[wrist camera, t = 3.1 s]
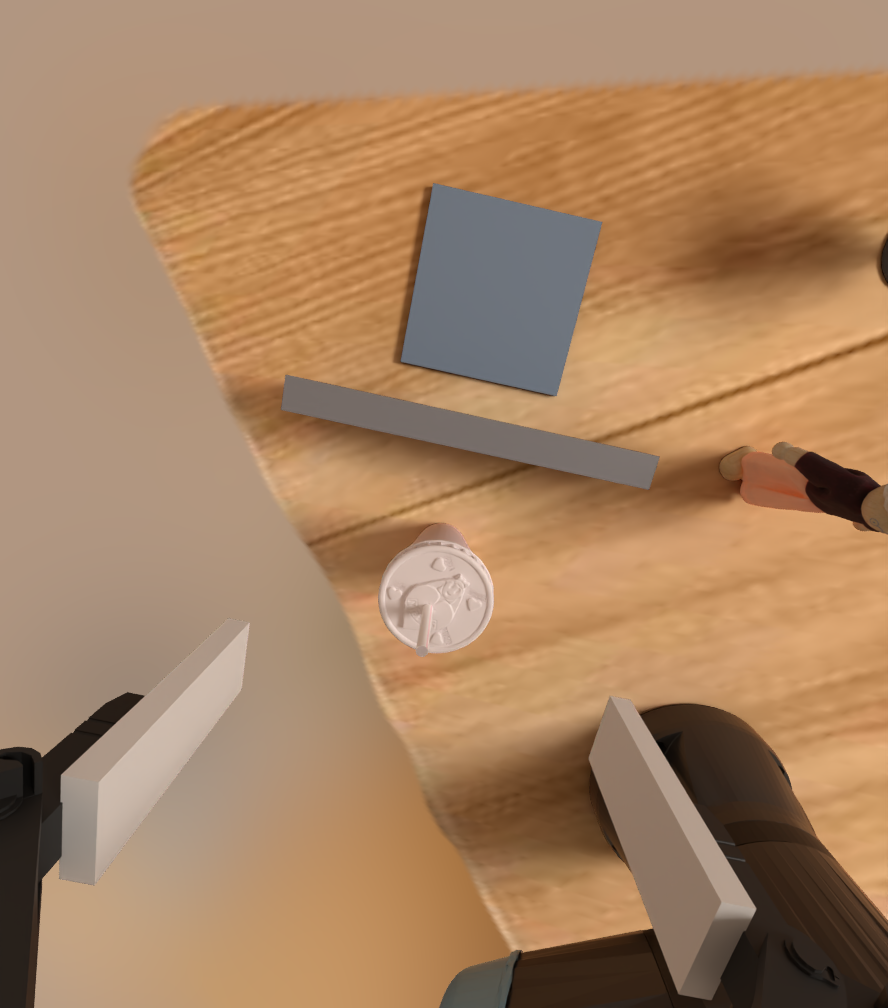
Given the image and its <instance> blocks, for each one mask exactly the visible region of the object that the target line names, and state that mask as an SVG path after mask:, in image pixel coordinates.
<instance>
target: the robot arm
mask: <svg viewBox="0 0 888 1008" xmlns="http://www.w3.org/2000/svg"><path fill="white" fill-rule="evenodd" d="M249 625H250V623H249V622H245V621H241V620H236V619H231V618H228V619H227V620H226V621H225V622H224V623H223V624H221V625H220V626H219V627H218V628H217V629H216V630H215V631H214V632H213V633H212V634H211V635H210V636H209V637H208V638H206V639H205V640H204V641H203V642H202V643H201V644H200V645H199V646H198V647H197V648H196V649H195V650H194V651H193V652H192V653H191V654H189V655H188V656H187V657H186V658H185V659H184V660H183V661H182V662H181V663H180V664H179V665H178V666H177V667H176V668H174V669H173V670H172V671H171V672H170V673H169V674H168V675H167V676H166V677H165V678H164V679H163V680H162V681H161V682H160V683H158V684H157V685H156V686H155V687H154V688H153V689H152V690H151V691H150V692H149V693H148V694H147V695H146V696H143V695H138V694H133V693H128V692H127V693H125V694H123V695H121V696H119V697H117V698H115V699H113V700H111V701H109V702H107V703H106V704H105V705H103V706H102V707H101V708H100V709H99V710H97V711H96V712H95V713H94V714H93V715H92V716H90V717H89V719H88V720H87V721H84V722H83V723H82V724H81V725H80V726H79V727H77V728H76V729H75V731H74V732H73V733H70V734H69V735H68V736H67V737H66V738H64V739H63V740H62V741H61V742H60V743H59V744H57V746H55V747H54V748H53V749H52V750H50V752H48V753H47V754H46V755H45V756H44V757H41V754H40V753H39V752H37V751H36V750H34V749H32V748H26V747H13V748H7V749H1V750H0V1008H34V999H35V984H36V969H37V953H38V938H39V923H40V909H41V894H42V878H43V877H44V876H45V875H46V873H48V871H49V870H50V869H51V868H52V867H53V866H54V864H55V863H56V862H57V861H58V860H59V859H60V863H59V865H60V866H59V879H62V880H68V881H73V882H79V883H84V884H90V885H95V884H96V883H97V881H98V880H99V879H100V878H101V876H102V875H103V874H104V872H105V871H106V869H107V868H108V867H109V865H110V864H111V863H112V862H113V860H114V859H115V858H116V856H117V855H118V854H119V852H120V851H121V849H122V848H123V847H124V846H125V844H126V843H127V841H128V840H129V839H130V838H131V836H132V835H133V834H134V832H135V831H136V830H137V828H138V827H139V826H140V824H141V823H142V822H143V820H144V819H145V817H146V816H147V815H148V814H149V812H150V811H151V810H152V808H153V807H154V806H155V804H156V803H157V802H158V800H159V799H160V798H161V796H162V795H163V794H164V792H165V791H166V789H167V788H168V787H169V786H170V784H171V783H172V781H173V780H174V779H175V777H176V776H177V775H178V774H179V772H180V771H181V769H182V768H183V767H184V766H185V764H186V763H187V762H188V760H189V759H190V758H191V756H192V755H193V753H194V752H195V751H196V750H197V748H198V747H199V746H200V744H201V743H202V742H203V740H204V739H205V738H206V736H207V735H208V734H209V732H210V731H211V730H212V728H213V727H214V726H215V724H216V722H217V721H218V720H219V719H220V717H221V716H222V715H223V713H224V712H225V711H226V709H227V708H228V707H229V706H230V704H231V703H232V702H233V700H234V699H235V698H236V696H237V695H238V693H239V692H240V691H241V690H242V682H243V673H244V665H245V657H246V648H247V641H248V633H249ZM588 759H589V762H590V764H591V767H592V770H591V775H590V784H589V789H590V798H591V802H592V806H593V808H594V811H595V814H596V817H597V820H598V823H599V825H600V828H601V831H602V833H603V835H604V837H605V839H606V840H607V842H608V844H609V845H610V847H611V848H612V849H613V850H614V852H615V853H616V854H617V856H618V857H619V858H620V859H621V860H622V861H623V862H624V863H625V864H626V865H627V867H628V868H629V870H630V871H631V873H632V874H633V877H634V879H635V882H636V885H637V887H638V890H639V892H640V895H641V898H642V900H643V903H644V905H645V908H646V911H647V913H648V916H649V918H650V921H651V924H652V926H653V929H648V930H640V931H634V932H629V933H624V934H619V935H613V936H608V937H603V938H598V939H592V940H587V941H582V942H577V943H571V944H566V945H561V946H556V947H550V948H545V949H540V950H534V951H529V952H524V953H523V951H522V950H515V951H514V952H511V954H510V956H508V957H505V958H501V959H497V960H493V961H489V962H485V963H482V964H478V965H474V966H470V967H468V968H466V969H464V970H462V971H461V972H460V973H458V974H457V975H456V977H455V978H454V979H453V980H452V981H451V983H450V984H449V986H448V988H447V990H446V992H445V994H444V996H443V999H442V1002H441V1004H440V1007H439V1008H888V920H887V919H886V918H885V916H884V915H883V914H882V913H881V912H880V911H879V909H878V908H877V907H876V906H875V905H874V904H873V902H872V901H871V900H870V899H869V898H868V897H867V895H866V894H865V893H864V892H863V891H862V890H861V889H860V887H859V886H858V885H857V884H856V883H855V882H854V880H853V879H852V878H851V877H850V876H849V875H848V873H847V872H846V871H845V870H844V869H843V868H842V866H841V865H840V864H839V863H838V862H837V861H836V859H835V858H834V857H833V856H832V855H831V853H830V852H829V851H828V850H827V849H826V848H825V846H824V845H823V844H822V843H821V842H820V840H819V839H818V838H817V836H816V834H815V832H814V830H813V828H812V825H811V823H810V821H809V819H808V818H807V816H806V814H805V812H804V810H803V808H802V806H801V805H800V803H799V801H798V800H797V798H796V797H795V795H794V793H793V791H792V787H791V783H790V780H789V777H788V774H787V772H786V770H785V768H784V766H783V764H782V763H781V761H780V759H779V758H778V757H777V755H776V754H775V752H774V751H773V750H772V749H771V748H770V747H769V745H768V744H767V743H766V742H765V741H764V740H763V739H762V738H761V737H760V736H759V735H758V734H757V733H756V732H755V730H754V729H753V728H752V727H750V726H749V725H748V724H747V723H746V722H744V721H743V720H741V719H740V718H738V717H737V716H735V715H733V714H731V713H729V712H726V711H724V710H721V709H717V708H714V707H709V706H703V705H674V706H668V707H663V708H659V709H656V710H653V711H650V712H647V713H645V714H643V715H639V713H638V712H637V710H636V708H635V707H634V705H633V703H632V702H631V700H628V699H623V698H618V697H614V696H610V697H609V700H608V703H607V706H606V709H605V712H604V714H603V717H602V720H601V723H600V726H599V729H598V732H597V735H596V738H595V741H594V744H593V747H592V749H591V752H590V755H589V758H588Z"/></svg>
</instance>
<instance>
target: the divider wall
mask: <svg viewBox="0 0 888 1008" xmlns="http://www.w3.org/2000/svg"><path fill="white" fill-rule="evenodd" d="M281 410H284V411H289V412H293V413H298V414H302V415H307V416H312V417H316V418H321V419H325V420H330V421H335V422H339V423H344V424H348V425H353V426H358V427H362V428H367V429H371V430H376V431H381V432H385V433H390V434H394V435H399V436H404V437H408V438H413V439H417V440H422V441H427V442H431V443H436V444H440V445H445V446H450V447H454V448H459V449H463V450H468V451H473V452H477V453H482V454H486V455H491V456H496V457H500V458H505V459H509V460H514V461H519V462H523V463H528V464H532V465H537V466H542V467H546V468H551V469H555V470H560V471H565V472H569V473H574V474H579V475H583V476H588V477H592V478H597V479H602V480H606V481H611V482H615V483H620V484H625V485H629V486H634V487H638V488H643V489H648V490H649V488H650V485H651V482H652V479H653V476H654V473H655V470H656V467H657V464H658V461H659V456H655V455H650V454H646V453H641V452H637V451H632V450H628V449H623V448H619V447H614V446H610V445H605V444H601V443H596V442H591V441H587V440H582V439H578V438H573V437H569V436H564V435H559V434H555V433H550V432H546V431H541V430H537V429H532V428H528V427H523V426H518V425H514V424H509V423H505V422H500V421H496V420H491V419H486V418H482V417H477V416H473V415H468V414H464V413H459V412H455V411H450V410H445V409H441V408H436V407H432V406H427V405H423V404H418V403H413V402H409V401H404V400H400V399H395V398H391V397H386V396H381V395H377V394H372V393H368V392H363V391H359V390H354V389H350V388H345V387H340V386H336V385H331V384H327V383H322V382H318V381H313V380H308V379H304V378H299V377H294V376H289V375H285V383H284V391H283V399H282V406H281Z"/></svg>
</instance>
